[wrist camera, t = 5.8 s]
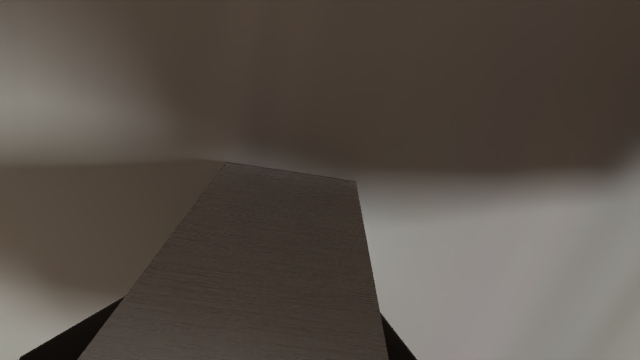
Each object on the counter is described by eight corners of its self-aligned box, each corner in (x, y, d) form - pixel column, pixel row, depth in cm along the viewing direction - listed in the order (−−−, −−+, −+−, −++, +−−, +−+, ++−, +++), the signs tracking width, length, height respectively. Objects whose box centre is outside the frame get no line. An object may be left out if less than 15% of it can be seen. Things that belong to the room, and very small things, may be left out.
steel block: (355, 181, 12) (426, 563, 3) (334, 286, 13) (345, 734, 5) (226, 162, 12) (-40, 512, 3) (219, 270, 13) (25, 704, 5)
